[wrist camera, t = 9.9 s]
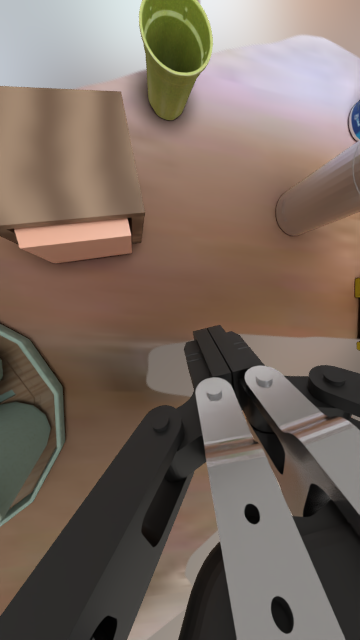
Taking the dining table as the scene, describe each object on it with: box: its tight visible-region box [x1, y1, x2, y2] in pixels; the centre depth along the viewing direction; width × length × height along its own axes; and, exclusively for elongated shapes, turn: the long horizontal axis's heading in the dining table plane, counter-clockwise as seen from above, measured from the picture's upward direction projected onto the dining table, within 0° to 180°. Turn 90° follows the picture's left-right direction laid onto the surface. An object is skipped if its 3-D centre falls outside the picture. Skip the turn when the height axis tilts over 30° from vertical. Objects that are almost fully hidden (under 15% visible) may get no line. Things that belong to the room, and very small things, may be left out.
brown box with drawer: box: [0, 86, 145, 245], centre depth 25 cm, size 16×12×12 cm
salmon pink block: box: [14, 218, 132, 264], centre depth 25 cm, size 12×10×9 cm
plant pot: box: [139, 0, 213, 120], centre depth 28 cm, size 9×9×9 cm
